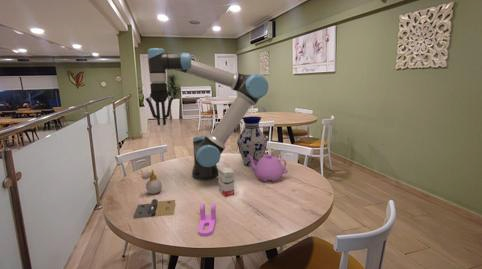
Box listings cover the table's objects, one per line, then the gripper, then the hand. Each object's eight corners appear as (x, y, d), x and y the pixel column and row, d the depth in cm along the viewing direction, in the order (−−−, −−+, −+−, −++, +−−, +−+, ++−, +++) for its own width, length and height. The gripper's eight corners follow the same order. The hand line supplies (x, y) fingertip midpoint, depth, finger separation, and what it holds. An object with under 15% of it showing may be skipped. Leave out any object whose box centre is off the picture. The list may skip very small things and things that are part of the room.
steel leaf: (158, 205, 122) (157, 199, 122) (155, 216, 113) (154, 209, 112) (138, 207, 121) (137, 200, 120) (133, 218, 111) (132, 211, 111)
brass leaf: (175, 205, 123) (175, 199, 123) (173, 215, 114) (173, 209, 113) (159, 206, 122) (158, 200, 122) (156, 217, 113) (155, 211, 112)
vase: (241, 170, 167) (239, 120, 161) (235, 161, 185) (233, 116, 179) (271, 167, 171) (271, 118, 165) (262, 158, 189) (262, 115, 183)
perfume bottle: (164, 189, 140) (162, 167, 137) (157, 197, 130) (154, 173, 128) (150, 189, 140) (148, 166, 138) (141, 197, 131) (139, 173, 129)
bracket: (202, 218, 110) (201, 202, 109) (216, 218, 110) (215, 202, 109) (196, 237, 97) (195, 218, 96) (212, 236, 97) (211, 218, 96)
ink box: (234, 195, 131) (234, 171, 129) (225, 197, 129) (224, 172, 127) (227, 188, 139) (226, 166, 137) (218, 190, 137) (217, 167, 134)
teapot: (245, 183, 145) (245, 158, 142) (248, 173, 160) (248, 150, 158) (288, 184, 142) (288, 158, 140) (287, 174, 158) (287, 150, 155)
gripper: (173, 82, 135) (176, 129, 140) (145, 83, 133) (149, 131, 138) (172, 82, 128) (175, 132, 133) (142, 83, 126) (147, 134, 131)
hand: (162, 131), depth 135 cm, fingers closed
